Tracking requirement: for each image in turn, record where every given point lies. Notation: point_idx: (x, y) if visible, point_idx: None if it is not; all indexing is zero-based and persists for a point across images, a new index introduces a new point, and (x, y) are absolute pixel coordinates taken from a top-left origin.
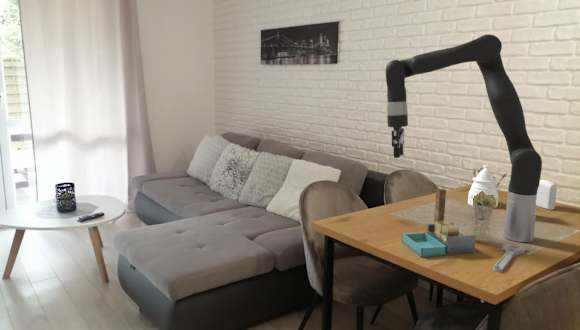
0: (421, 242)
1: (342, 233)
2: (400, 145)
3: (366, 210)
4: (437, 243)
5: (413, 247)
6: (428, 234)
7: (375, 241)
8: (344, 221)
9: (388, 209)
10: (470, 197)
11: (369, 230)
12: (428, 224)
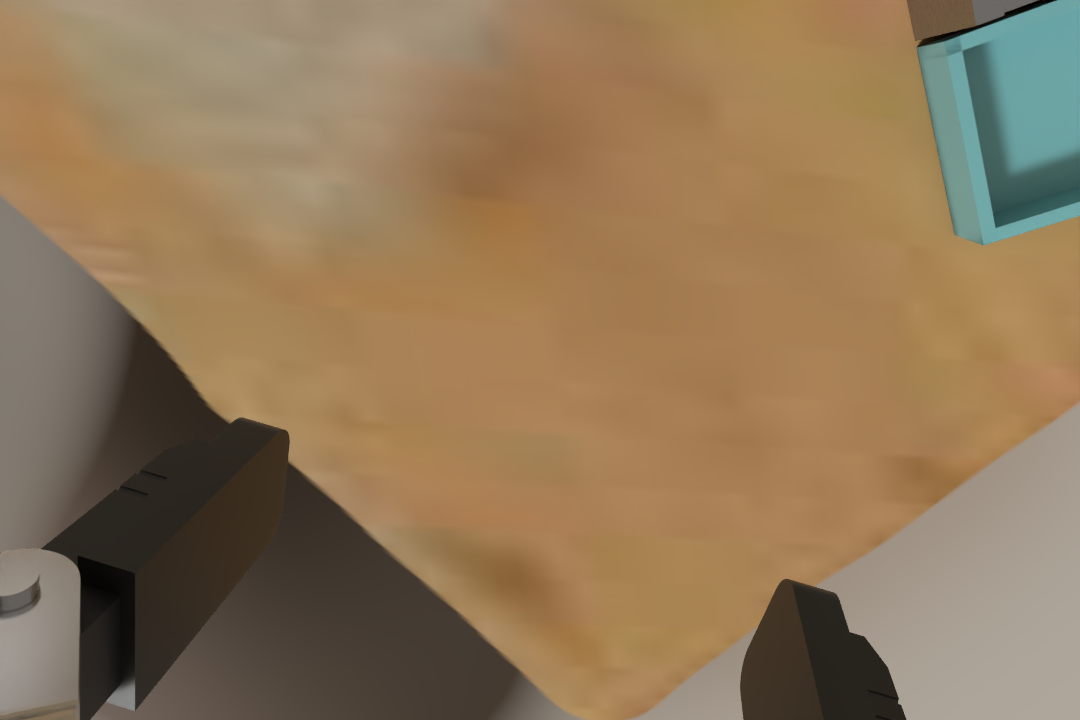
0: (1003, 89)
1: None
2: (107, 640)
3: None
4: None
5: None
6: (1003, 23)
7: (942, 411)
8: (544, 575)
9: (175, 257)
10: None
11: (716, 433)
12: (983, 10)
